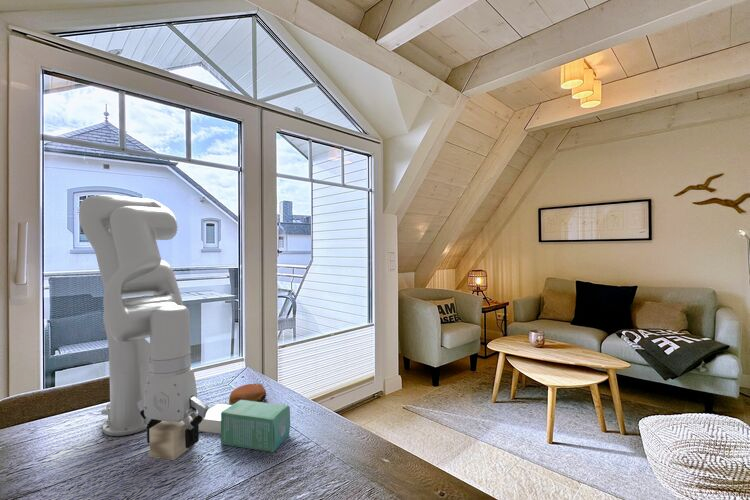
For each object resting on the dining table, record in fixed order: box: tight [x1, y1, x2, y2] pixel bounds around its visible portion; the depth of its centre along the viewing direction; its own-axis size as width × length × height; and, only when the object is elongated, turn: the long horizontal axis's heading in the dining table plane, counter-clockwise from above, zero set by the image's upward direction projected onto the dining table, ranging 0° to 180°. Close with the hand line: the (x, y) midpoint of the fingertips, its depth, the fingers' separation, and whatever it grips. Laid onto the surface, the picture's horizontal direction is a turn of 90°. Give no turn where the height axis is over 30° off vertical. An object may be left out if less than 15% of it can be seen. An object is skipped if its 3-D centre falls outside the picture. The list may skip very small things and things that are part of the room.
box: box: [220, 400, 291, 453], centre depth 79 cm, size 7×14×8 cm, turn 76°
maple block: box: [149, 416, 196, 461], centre depth 76 cm, size 6×6×6 cm
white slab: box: [199, 403, 231, 435], centre depth 87 cm, size 8×8×3 cm
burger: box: [228, 383, 268, 405], centre depth 99 cm, size 10×9×5 cm
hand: (173, 442), depth 76 cm, fingers open, 9 cm apart
